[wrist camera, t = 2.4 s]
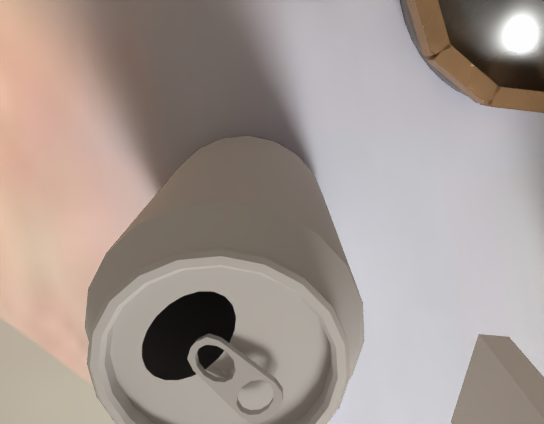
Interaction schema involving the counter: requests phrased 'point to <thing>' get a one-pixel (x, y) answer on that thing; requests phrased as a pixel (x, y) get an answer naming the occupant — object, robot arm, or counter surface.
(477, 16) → the coaster
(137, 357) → the can
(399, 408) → the counter surface
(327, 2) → the counter surface
